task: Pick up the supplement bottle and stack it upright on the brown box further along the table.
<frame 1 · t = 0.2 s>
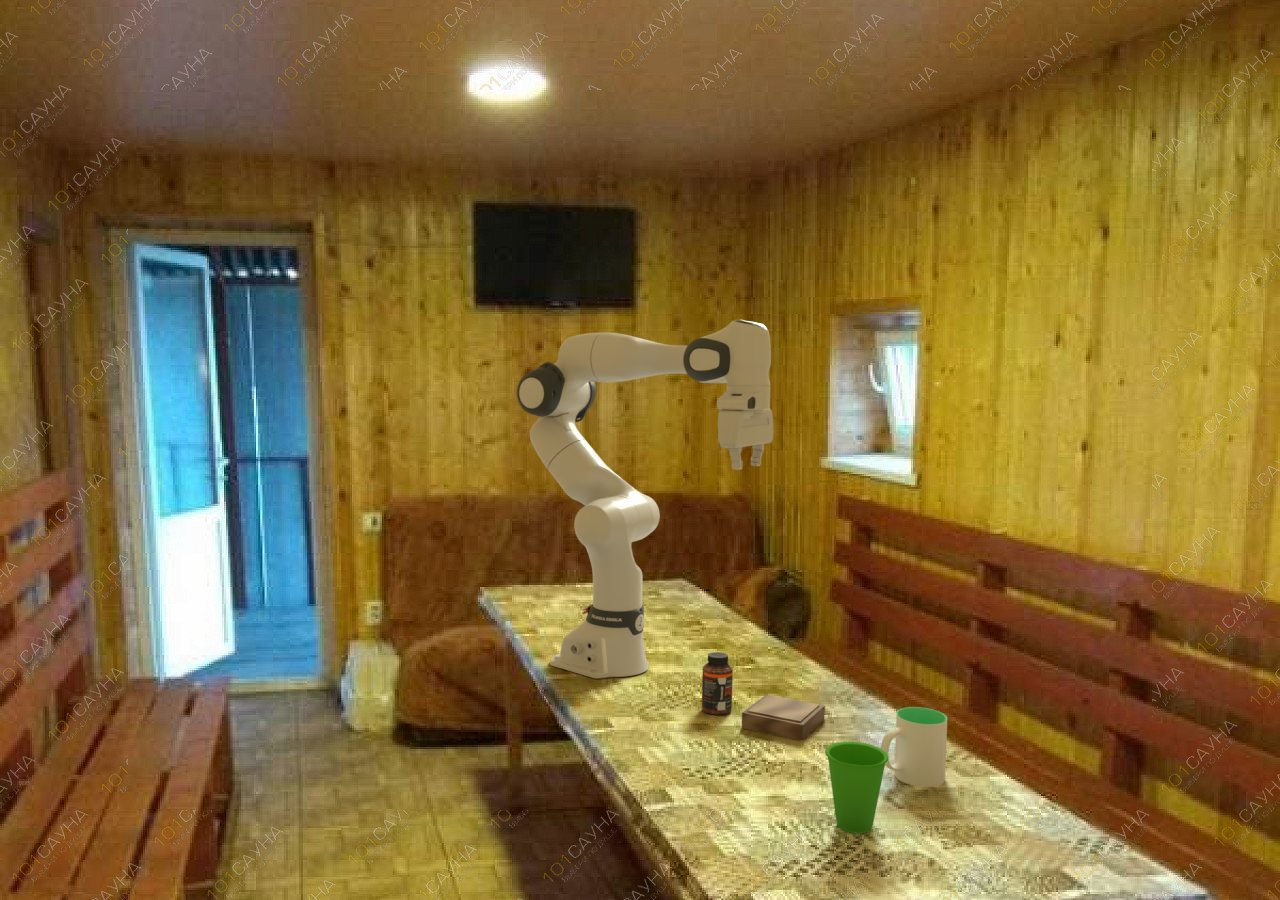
hand: (746, 467, 195), 47 cm above the table, fingers open, 8 cm apart
mug: (910, 780, 157), on the table
cup: (854, 826, 140), on the table
brown box: (783, 724, 181), on the table
supplement bottle: (716, 711, 188), on the table
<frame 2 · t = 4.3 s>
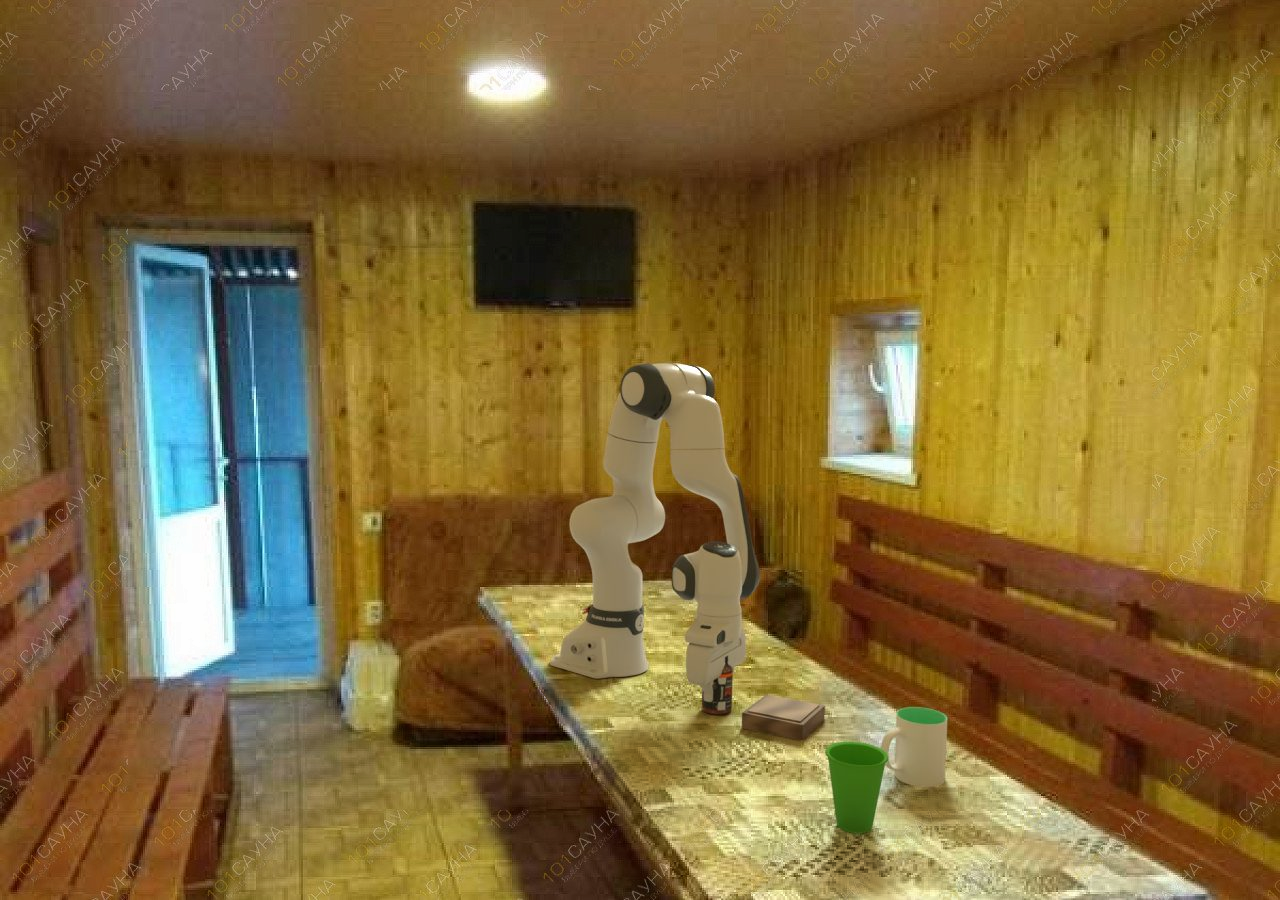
hand: (717, 695, 187), 3 cm above the table, fingers closed on supplement bottle, 6 cm apart
supplement bottle: (716, 711, 188), on the table, touching gripper
everything else where it was.
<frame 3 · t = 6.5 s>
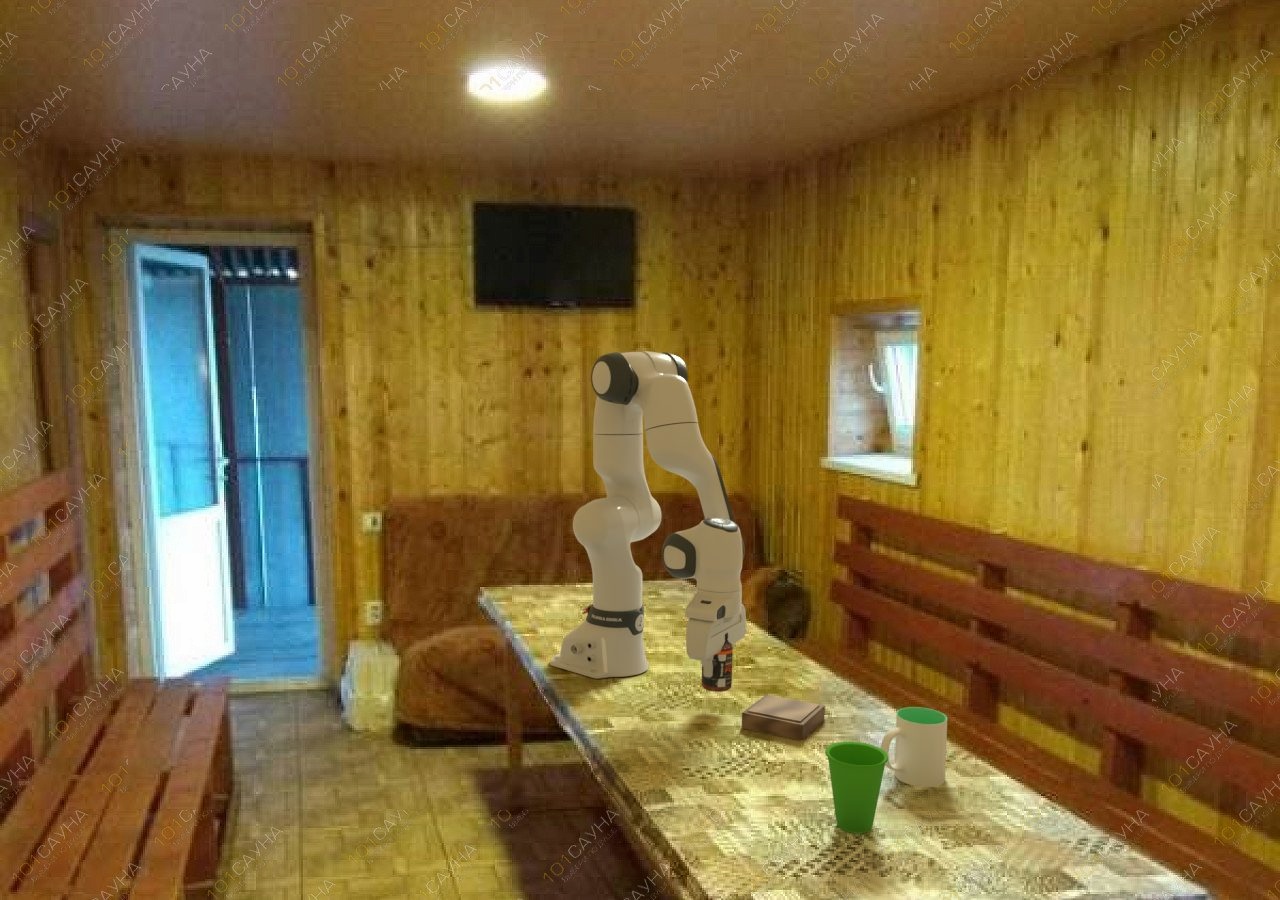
hand: (717, 671, 187), 8 cm above the table, fingers closed on supplement bottle, 6 cm apart
supplement bottle: (716, 688, 187), point 4 cm above the table, touching gripper
everything else where it was.
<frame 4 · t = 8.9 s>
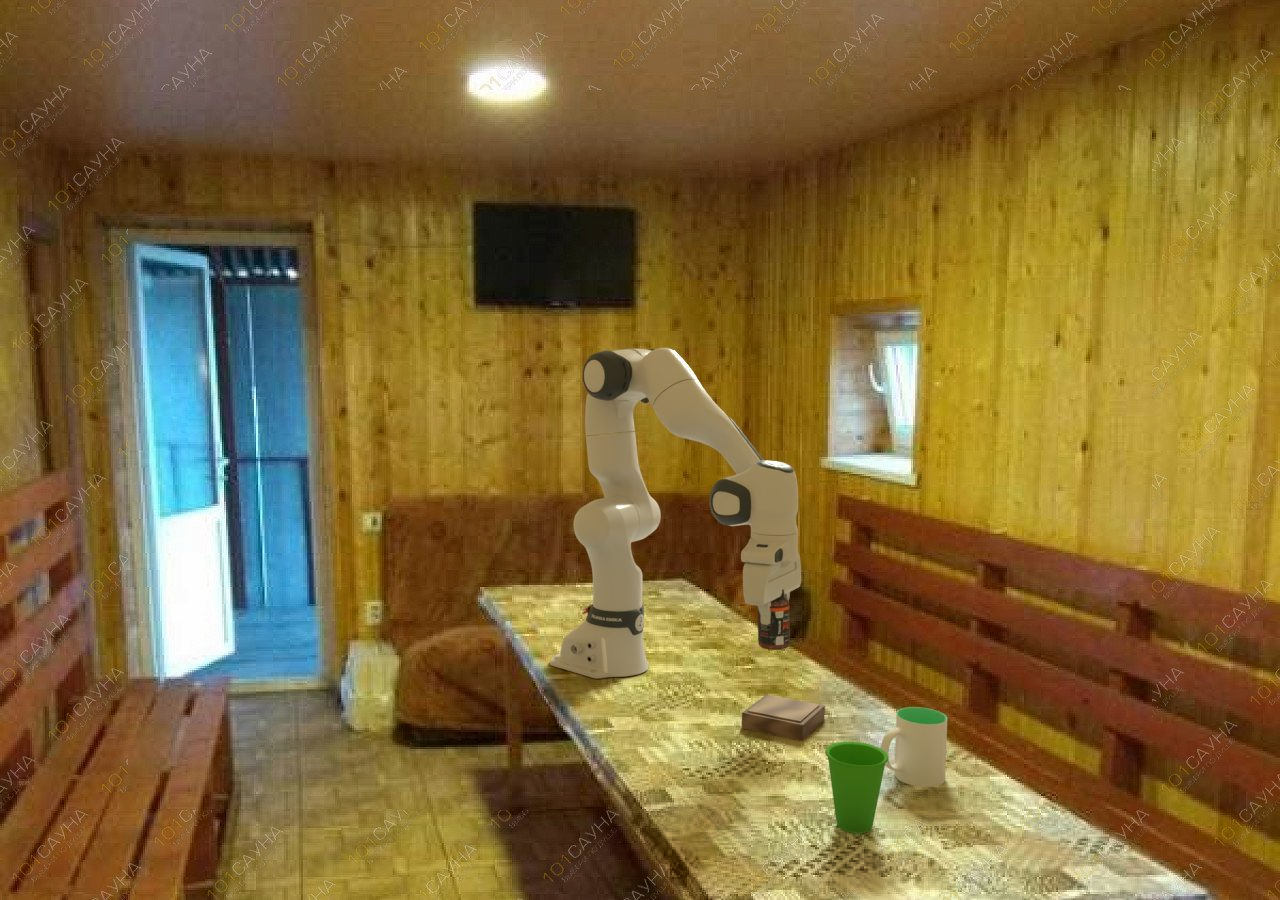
hand: (773, 619, 180), 20 cm above the table, fingers closed on supplement bottle, 6 cm apart
supplement bottle: (774, 647, 181), point 15 cm above the table, touching gripper
everything else where it was.
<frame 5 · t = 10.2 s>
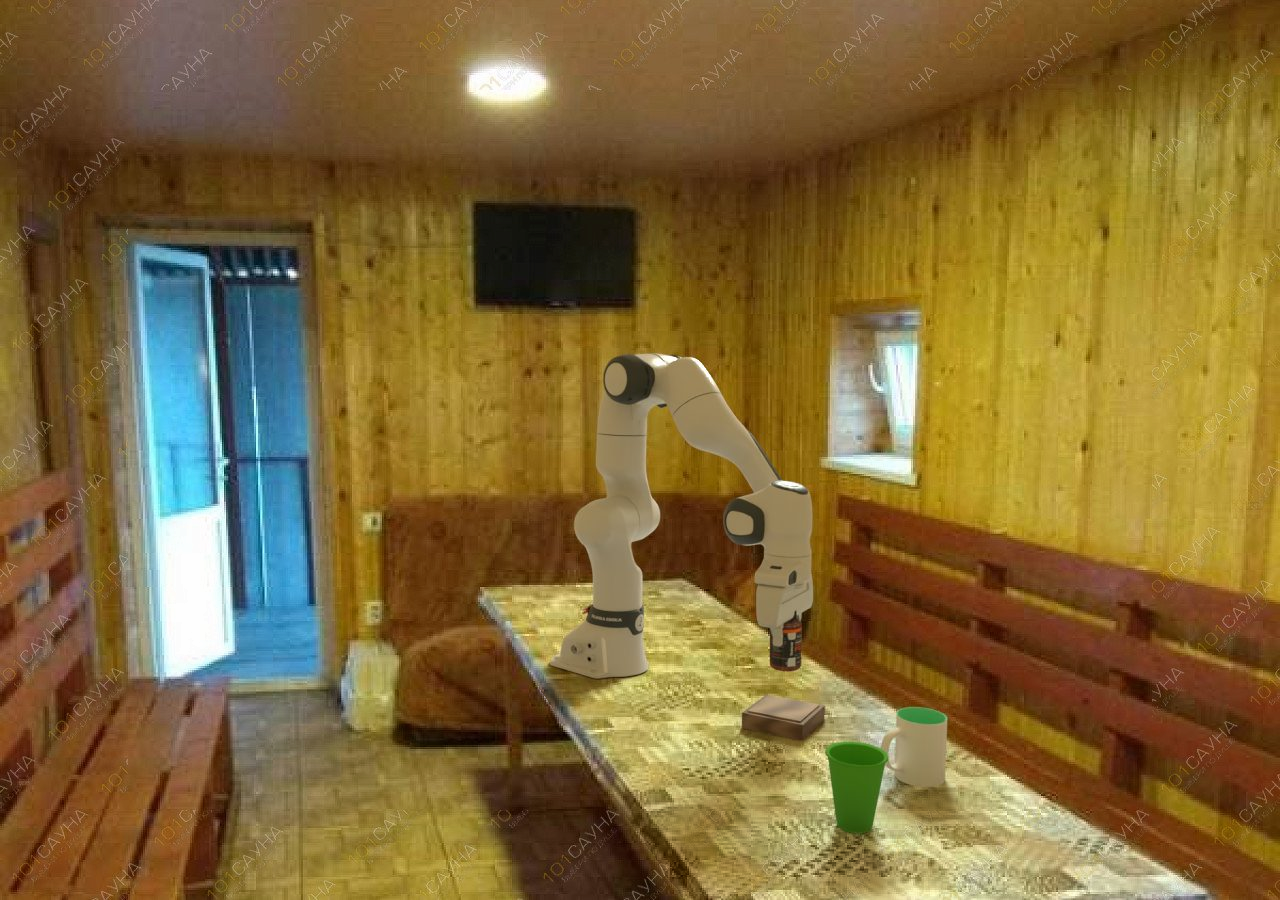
hand: (785, 640, 179), 16 cm above the table, fingers closed on supplement bottle, 6 cm apart
supplement bottle: (785, 668, 180), point 11 cm above the table, touching gripper
everything else where it was.
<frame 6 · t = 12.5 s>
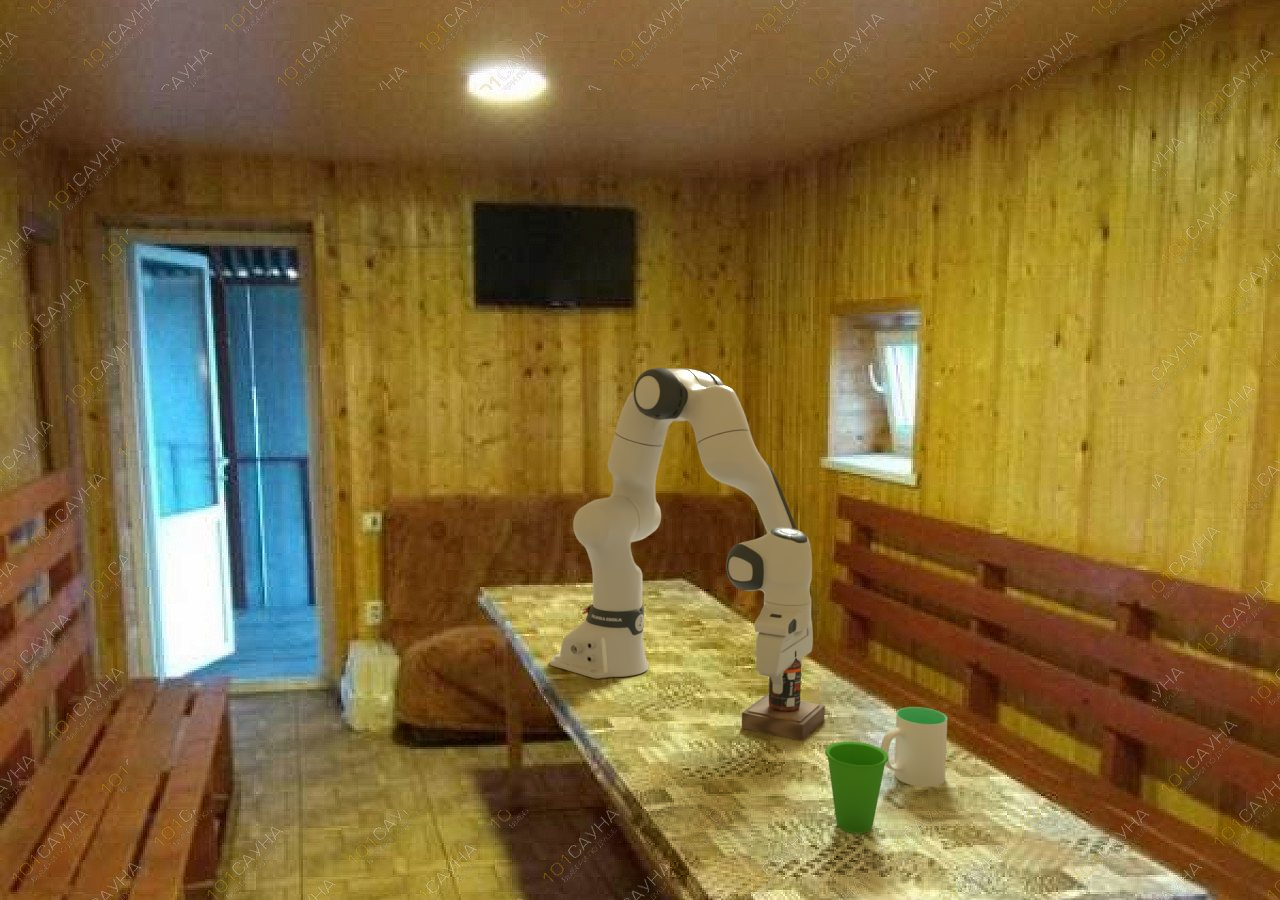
hand: (785, 687, 180), 7 cm above the table, fingers closed on supplement bottle, 6 cm apart
supplement bottle: (784, 708, 181), point 3 cm above the table, touching gripper, brown box
everything else where it was.
when the fingers open (7 cm above the table, at t = 12.6 s): supplement bottle stays where it is, resting on brown box.
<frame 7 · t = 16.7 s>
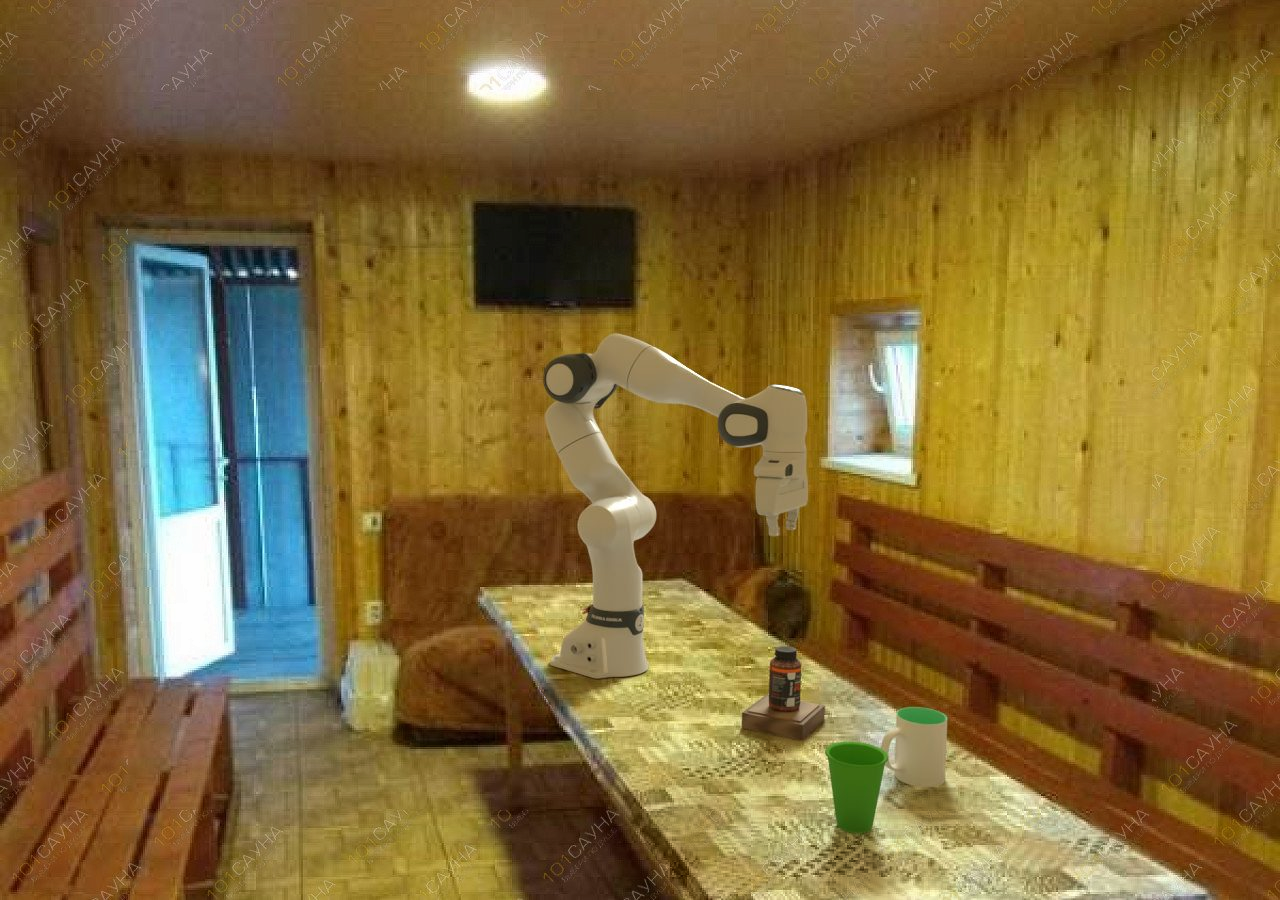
hand: (782, 532, 194), 34 cm above the table, fingers open, 8 cm apart
supplement bottle: (784, 708, 181), point 3 cm above the table, touching brown box
everything else where it was.
at the end: supplement bottle inside the target area on the brown box (0.2 cm from its centre), point 3.1 cm above the brown box's base; supplement bottle tilted 0°; the gripper is holding nothing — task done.
